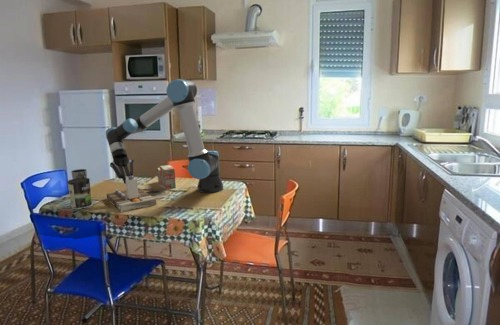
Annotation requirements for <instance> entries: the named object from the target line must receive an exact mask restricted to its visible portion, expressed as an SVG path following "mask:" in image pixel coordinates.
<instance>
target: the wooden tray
mask: <svg viewBox="0 0 500 325" xmlns="http://www.w3.org/2000/svg"><path fill="white" fill-rule="evenodd" d="M134 199H136V198H132V199H128V198H127V190H126V189H125V190H119V189H117V188H116V189H115V191H114V192H109V193H106V200H107V201H109V202H110V201H111V202H112V203H113V204H114V205H115V206H116V207H115V206H114V205H113V204H112V203H111V202H110V203H111V204H112V205H113V206H114V207H115V208H117V210H119V211H120V212H121V211H123V212H127V211H126V210H128V211H131V209H133V210H137V209H136V208H138V209H141V207H143V208H147V207H151V206H156V205H157V199H156V198H155V197H154V196H152V195H151V194H149V193H147V192H146V191H144V190H142V189H141V188H140V187H138V198H137V199H139V200H140V201H137V202H132V201H133V200H134Z"/></svg>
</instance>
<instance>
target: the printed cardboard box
mask: <svg viewBox="0 0 500 325" xmlns="http://www.w3.org/2000/svg"><path fill="white" fill-rule="evenodd" d="M156 170H157V171H156V172H157V180H158V182H159V184H160V185H161V186H162V188H164V190H171V189H176V171H175V167H173V166H172V165H170V164H167V165H160V166H159V167H157V168H156Z"/></svg>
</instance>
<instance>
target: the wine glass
mask: <svg viewBox="0 0 500 325" xmlns="http://www.w3.org/2000/svg"><path fill="white" fill-rule="evenodd" d="M70 173H71V178H72V179H77V178H88V171H87V169H86V168H79V169H74V170H71V172H70Z"/></svg>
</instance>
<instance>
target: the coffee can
mask: <svg viewBox="0 0 500 325" xmlns="http://www.w3.org/2000/svg"><path fill="white" fill-rule="evenodd" d="M67 184H68V191H69V199H70V206H71V209H72V210H83V209H82V208H84V209H87V207H88V208H90V207H92V206H93V201H92V191H91V185H90V184H91V183H90V178H88V177H87V178H77V179H73V178H72V179H69V180H68V181H67Z"/></svg>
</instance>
